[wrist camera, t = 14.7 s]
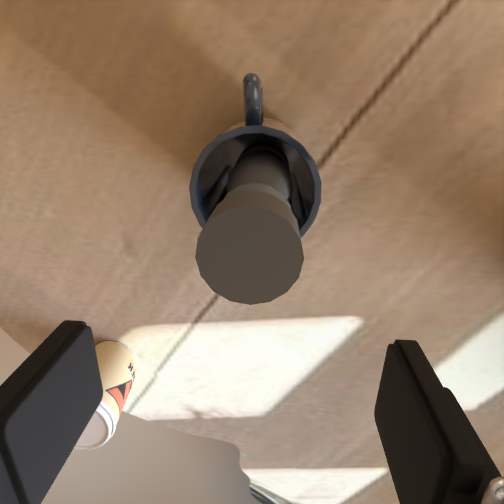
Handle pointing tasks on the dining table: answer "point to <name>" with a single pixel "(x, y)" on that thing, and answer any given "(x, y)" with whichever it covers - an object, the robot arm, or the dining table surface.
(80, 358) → the robot arm
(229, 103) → the dining table surface
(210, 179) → the dark grey mug
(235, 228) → the candle holder
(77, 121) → the dining table surface
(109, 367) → the coffee cup
